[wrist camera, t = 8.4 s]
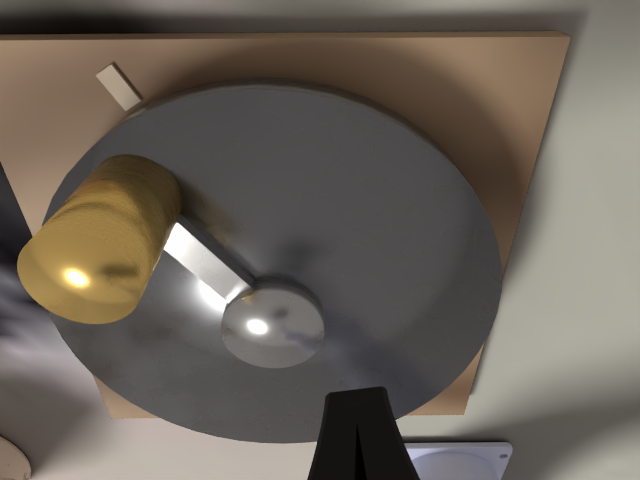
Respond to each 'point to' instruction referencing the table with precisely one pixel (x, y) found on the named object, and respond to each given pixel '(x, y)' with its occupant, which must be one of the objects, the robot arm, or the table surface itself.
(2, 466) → the teacup with lid
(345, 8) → the table surface
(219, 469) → the table surface
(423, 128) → the base plate
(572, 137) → the table surface
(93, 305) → the handwheel
